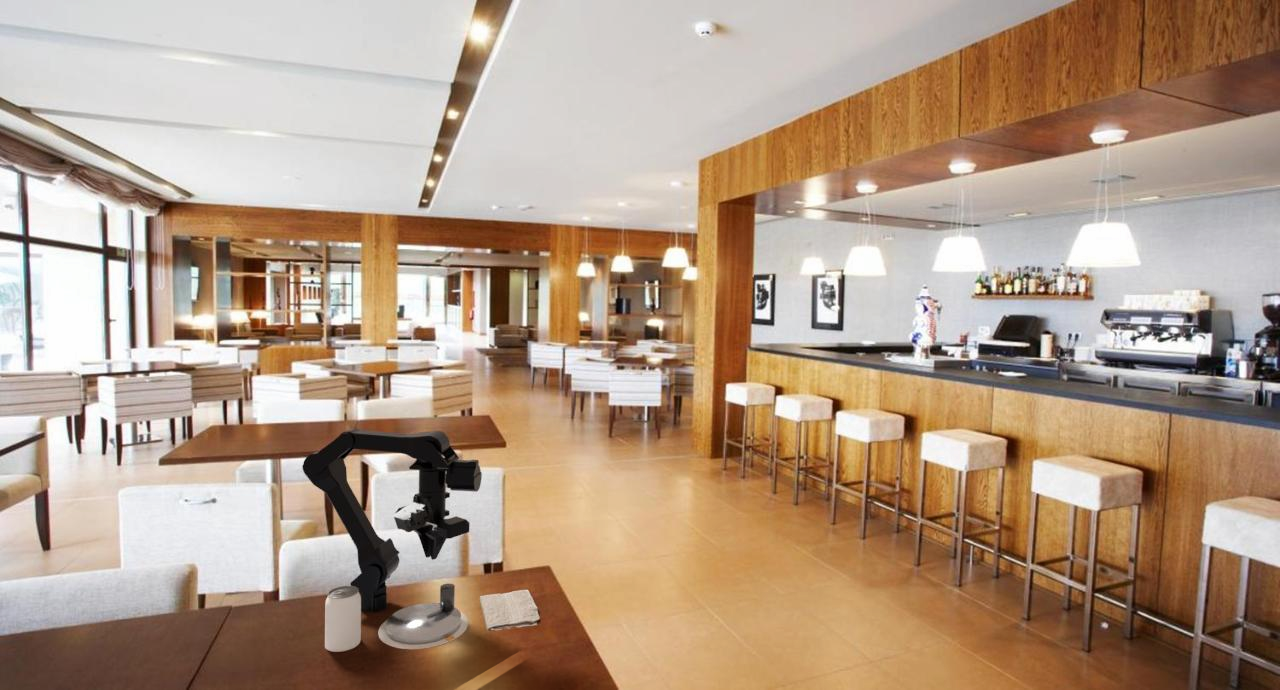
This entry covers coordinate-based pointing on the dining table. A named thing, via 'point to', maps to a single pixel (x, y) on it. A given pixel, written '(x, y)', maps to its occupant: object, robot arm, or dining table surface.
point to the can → (342, 619)
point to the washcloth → (509, 610)
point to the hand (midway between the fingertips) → (431, 558)
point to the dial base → (392, 643)
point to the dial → (426, 620)
